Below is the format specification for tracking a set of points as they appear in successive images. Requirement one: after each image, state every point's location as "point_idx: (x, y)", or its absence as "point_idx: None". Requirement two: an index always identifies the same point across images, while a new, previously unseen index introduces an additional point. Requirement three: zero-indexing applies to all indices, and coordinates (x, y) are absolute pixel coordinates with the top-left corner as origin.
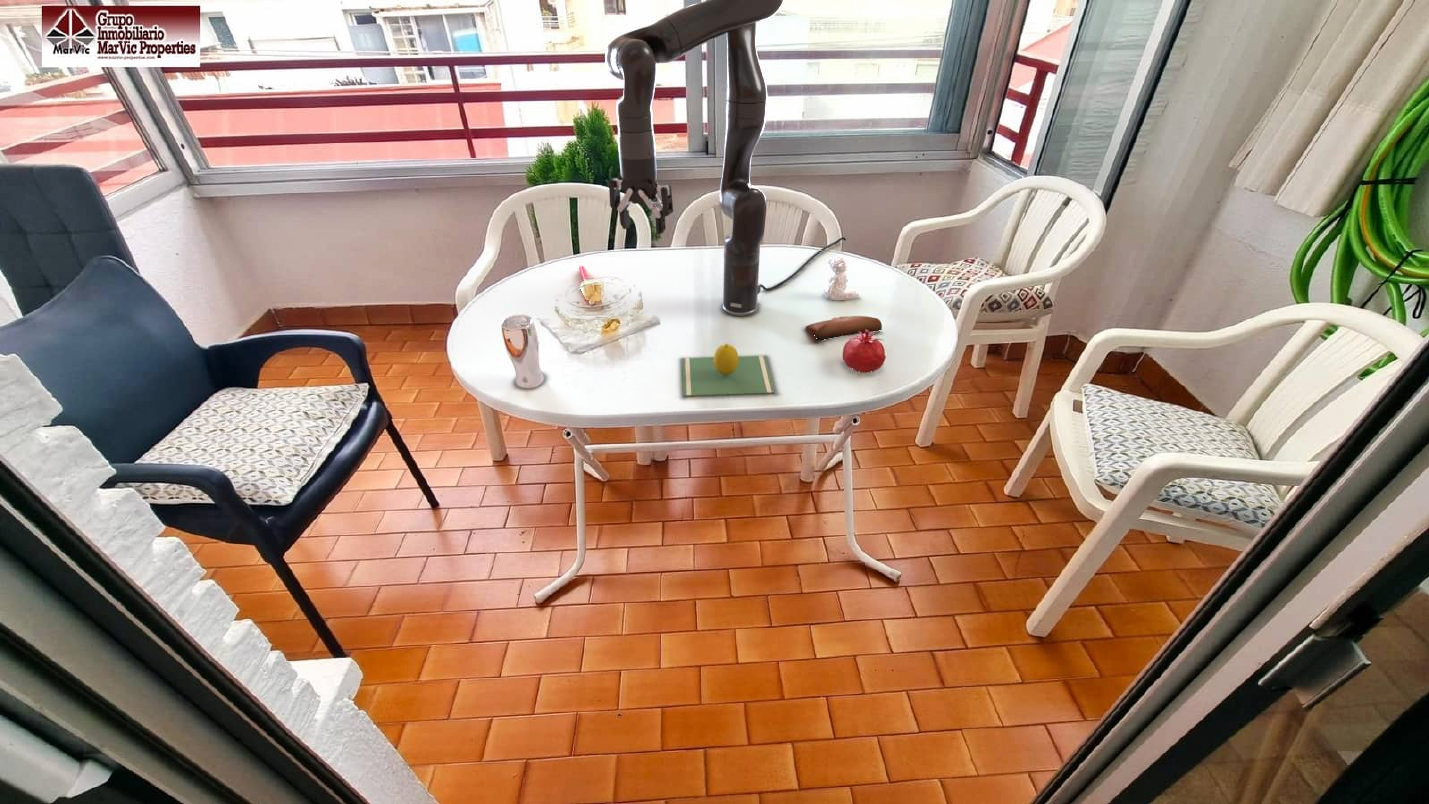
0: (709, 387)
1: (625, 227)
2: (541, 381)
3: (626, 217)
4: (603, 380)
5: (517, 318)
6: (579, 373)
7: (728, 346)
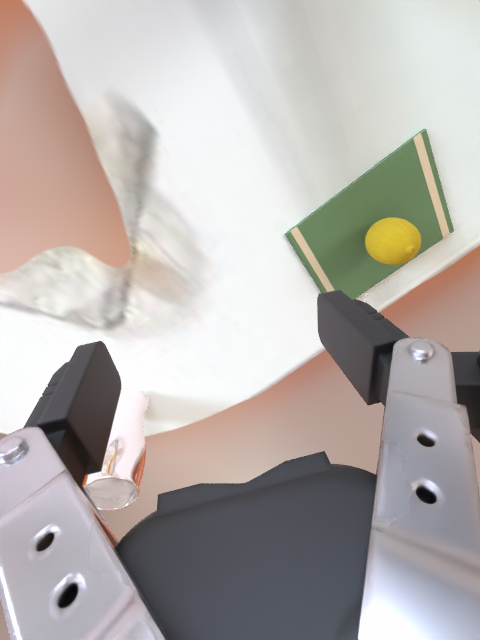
0: (361, 277)
1: (119, 386)
2: (147, 398)
3: (97, 412)
4: (212, 347)
5: (86, 480)
6: (169, 355)
7: (415, 249)
